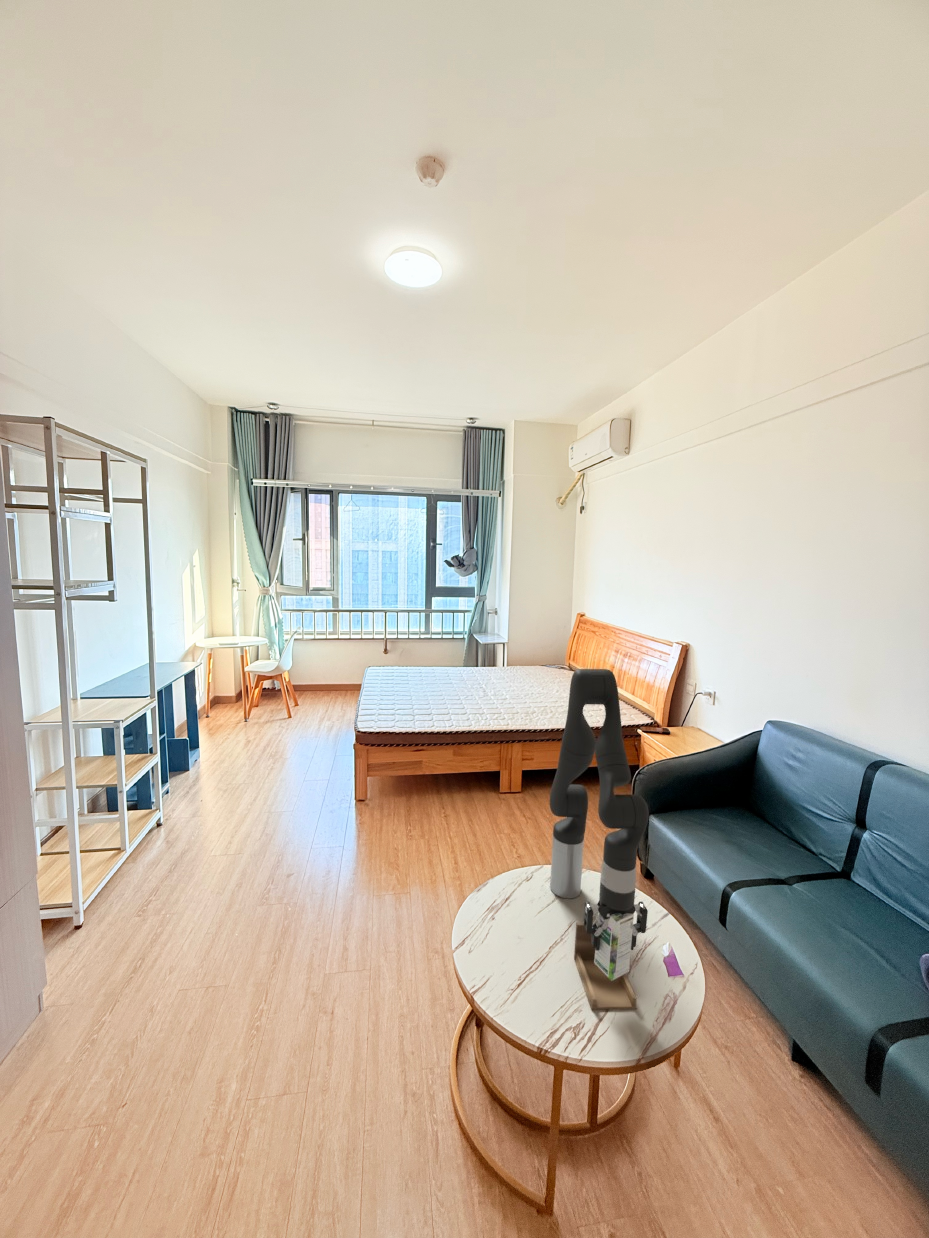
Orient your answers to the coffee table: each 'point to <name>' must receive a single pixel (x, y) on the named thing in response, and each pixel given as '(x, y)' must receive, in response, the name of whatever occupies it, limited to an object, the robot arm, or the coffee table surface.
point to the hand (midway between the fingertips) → (613, 947)
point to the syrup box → (615, 946)
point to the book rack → (600, 977)
